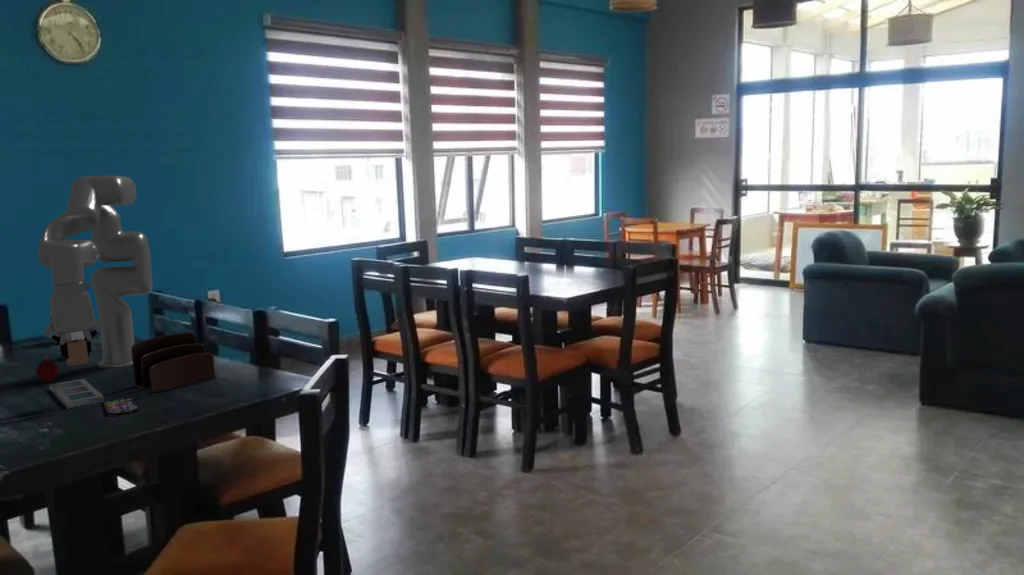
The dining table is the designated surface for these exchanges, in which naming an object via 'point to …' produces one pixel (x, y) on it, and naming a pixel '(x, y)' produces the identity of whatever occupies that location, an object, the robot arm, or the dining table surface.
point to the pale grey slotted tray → (76, 393)
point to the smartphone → (121, 406)
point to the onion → (47, 370)
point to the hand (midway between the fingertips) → (76, 356)
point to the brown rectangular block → (77, 352)
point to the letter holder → (171, 362)
